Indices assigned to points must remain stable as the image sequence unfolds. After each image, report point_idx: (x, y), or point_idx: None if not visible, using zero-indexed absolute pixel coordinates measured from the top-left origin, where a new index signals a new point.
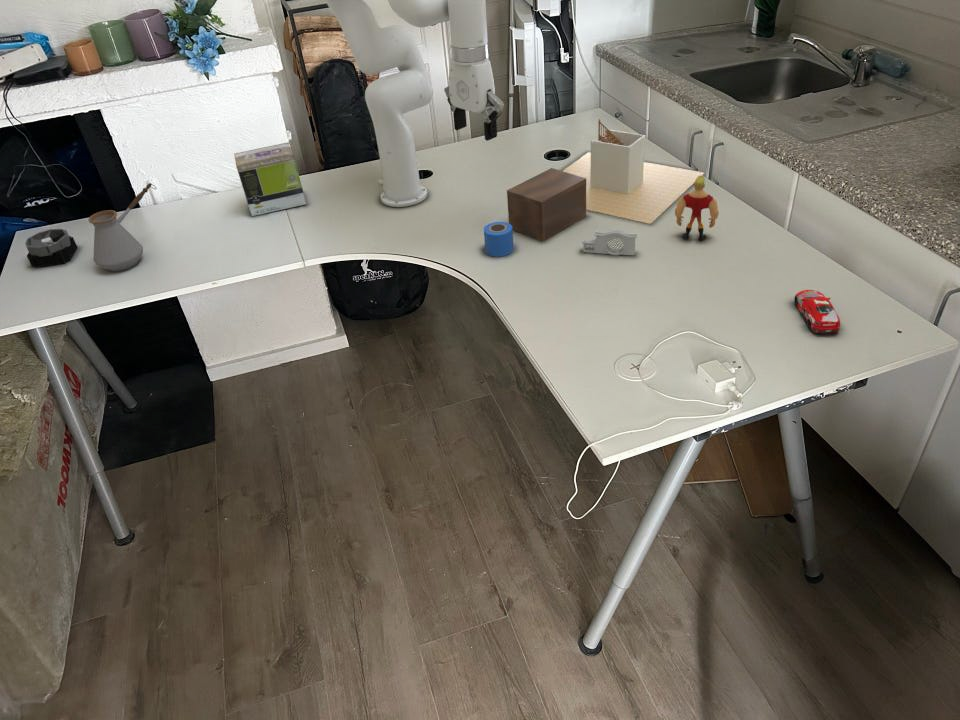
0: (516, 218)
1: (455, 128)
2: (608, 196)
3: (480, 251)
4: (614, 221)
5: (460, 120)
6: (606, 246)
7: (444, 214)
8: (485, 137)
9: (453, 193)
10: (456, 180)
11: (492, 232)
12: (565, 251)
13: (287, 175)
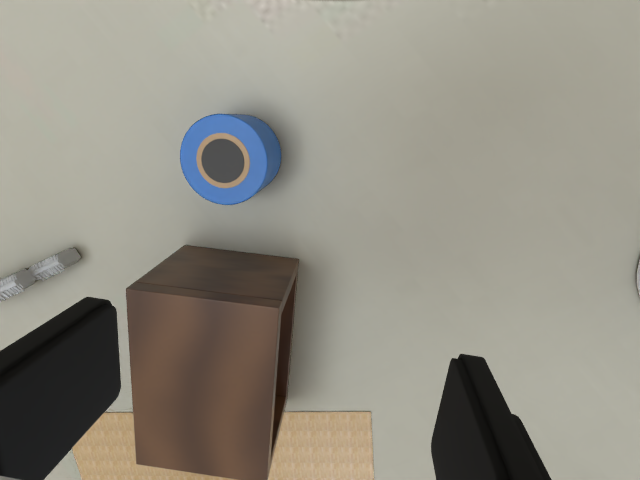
0: (261, 269)
1: (472, 360)
2: (208, 477)
3: (281, 119)
4: (123, 393)
5: (457, 450)
6: (16, 272)
7: (516, 238)
8: (86, 306)
9: (571, 349)
10: (611, 412)
11: (217, 129)
12: (111, 232)
13: None
